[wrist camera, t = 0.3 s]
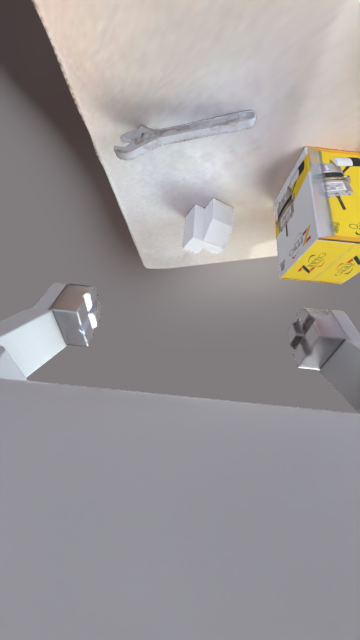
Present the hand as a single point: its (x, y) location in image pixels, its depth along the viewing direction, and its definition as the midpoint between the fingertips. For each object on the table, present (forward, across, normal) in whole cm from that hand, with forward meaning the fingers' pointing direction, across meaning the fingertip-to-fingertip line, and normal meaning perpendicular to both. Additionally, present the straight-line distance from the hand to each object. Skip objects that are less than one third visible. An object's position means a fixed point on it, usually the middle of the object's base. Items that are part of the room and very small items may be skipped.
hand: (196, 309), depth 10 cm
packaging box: (+64, -32, +7) cm, 72 cm away
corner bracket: (+70, -5, +20) cm, 73 cm away
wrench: (+58, +4, -2) cm, 59 cm away
